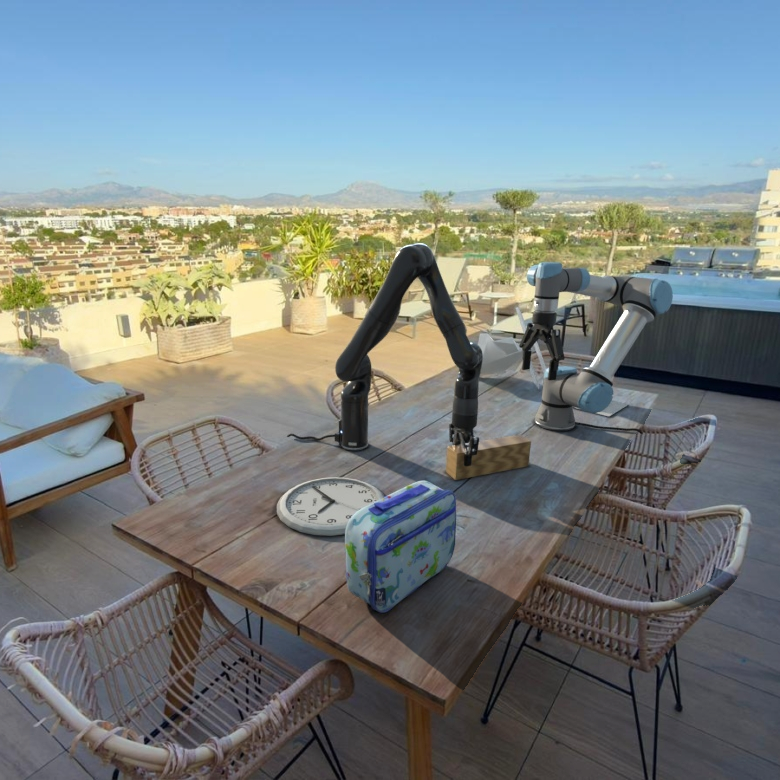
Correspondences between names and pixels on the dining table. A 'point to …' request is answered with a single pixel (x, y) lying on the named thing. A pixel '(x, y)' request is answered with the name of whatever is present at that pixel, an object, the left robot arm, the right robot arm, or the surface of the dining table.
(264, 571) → the dining table surface
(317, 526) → the wall clock
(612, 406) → the invitation card
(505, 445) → the box
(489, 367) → the white plastic object
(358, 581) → the lunch box
